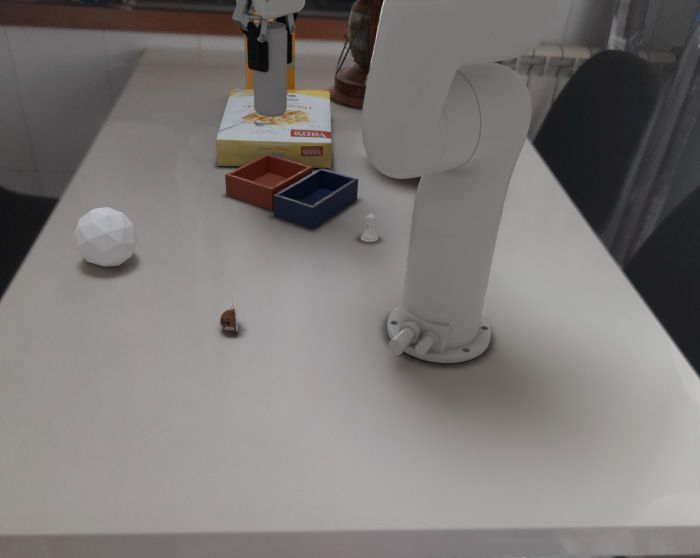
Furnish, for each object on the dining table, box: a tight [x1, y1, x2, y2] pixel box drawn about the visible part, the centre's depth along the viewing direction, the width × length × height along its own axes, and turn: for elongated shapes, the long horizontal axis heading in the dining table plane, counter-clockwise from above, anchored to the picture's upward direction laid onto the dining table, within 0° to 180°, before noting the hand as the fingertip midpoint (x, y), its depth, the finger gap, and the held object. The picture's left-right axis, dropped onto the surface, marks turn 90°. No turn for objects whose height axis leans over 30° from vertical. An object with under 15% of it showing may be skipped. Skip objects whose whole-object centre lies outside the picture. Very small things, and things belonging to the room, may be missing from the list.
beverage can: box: [253, 21, 287, 117], centre depth 102 cm, size 5×5×12 cm
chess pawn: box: [360, 213, 379, 243], centre depth 105 cm, size 3×2×4 cm
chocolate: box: [219, 299, 239, 334], centre depth 85 cm, size 3×2×4 cm
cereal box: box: [215, 88, 333, 169], centre depth 135 cm, size 20×6×28 cm
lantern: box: [328, 0, 384, 110], centre depth 152 cm, size 19×19×30 cm
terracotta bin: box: [224, 154, 313, 212], centre depth 117 cm, size 11×9×4 cm
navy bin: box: [272, 168, 359, 230], centre depth 113 cm, size 13×7×4 cm, turn 149°
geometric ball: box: [73, 206, 138, 268], centre depth 95 cm, size 8×8×8 cm
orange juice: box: [243, 13, 296, 90], centre depth 153 cm, size 8×9×20 cm
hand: (270, 64), depth 102 cm, fingers closed on beverage can, 4 cm apart
